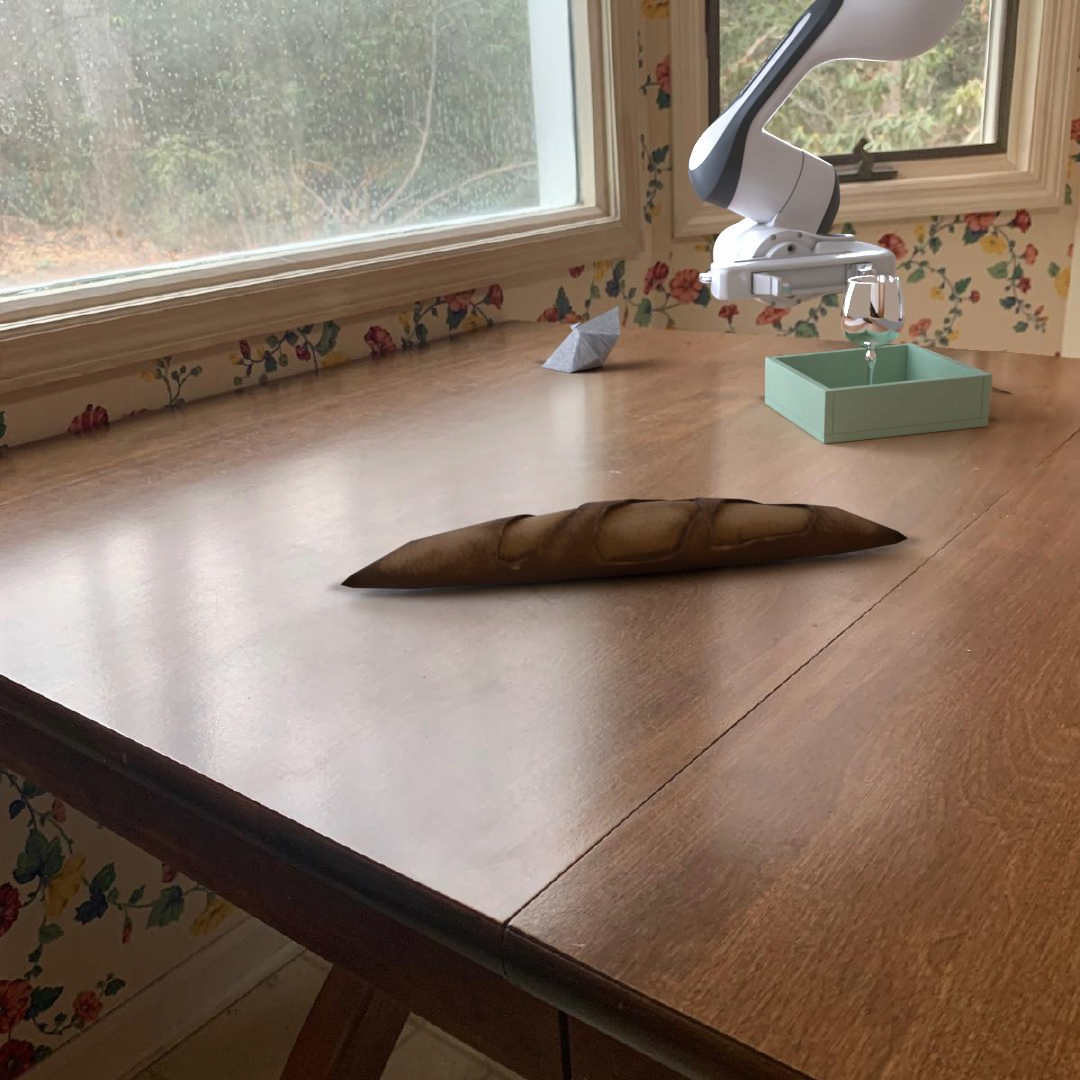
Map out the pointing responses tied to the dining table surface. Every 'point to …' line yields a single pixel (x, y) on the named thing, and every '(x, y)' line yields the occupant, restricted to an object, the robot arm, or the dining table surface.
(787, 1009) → the dining table surface
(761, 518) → the bread
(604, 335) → the paper boat
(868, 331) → the wineglass
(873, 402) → the bin
